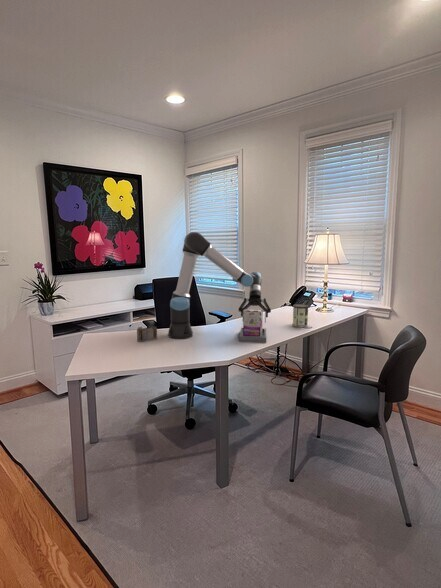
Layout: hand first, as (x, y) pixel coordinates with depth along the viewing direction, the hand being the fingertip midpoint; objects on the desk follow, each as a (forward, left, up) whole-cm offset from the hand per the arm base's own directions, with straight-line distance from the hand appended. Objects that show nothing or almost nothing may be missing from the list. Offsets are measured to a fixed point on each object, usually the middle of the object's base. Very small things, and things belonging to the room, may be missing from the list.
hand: (254, 321), depth 217 cm
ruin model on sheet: (-63, -17, -10) cm, 66 cm away
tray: (0, -2, -10) cm, 10 cm away
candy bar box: (-1, -2, -9) cm, 9 cm away
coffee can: (+32, +32, -10) cm, 46 cm away
